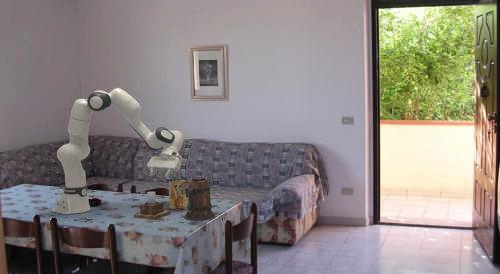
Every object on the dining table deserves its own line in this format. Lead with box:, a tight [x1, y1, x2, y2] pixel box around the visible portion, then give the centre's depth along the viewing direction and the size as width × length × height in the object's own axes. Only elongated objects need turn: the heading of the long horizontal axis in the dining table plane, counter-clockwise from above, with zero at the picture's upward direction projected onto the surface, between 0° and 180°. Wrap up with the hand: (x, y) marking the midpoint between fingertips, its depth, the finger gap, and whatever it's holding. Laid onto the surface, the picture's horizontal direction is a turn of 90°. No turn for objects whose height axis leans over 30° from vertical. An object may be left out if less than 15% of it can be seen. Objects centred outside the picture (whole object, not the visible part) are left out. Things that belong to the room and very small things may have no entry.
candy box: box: [168, 179, 187, 210], centre depth 314 cm, size 9×4×15 cm, turn 119°
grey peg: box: [146, 191, 157, 205], centre depth 298 cm, size 4×4×11 cm
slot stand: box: [133, 201, 171, 220], centre depth 298 cm, size 14×14×6 cm
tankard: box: [183, 177, 217, 222], centre depth 288 cm, size 24×17×20 cm
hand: (158, 176), depth 304 cm, fingers open, 8 cm apart
